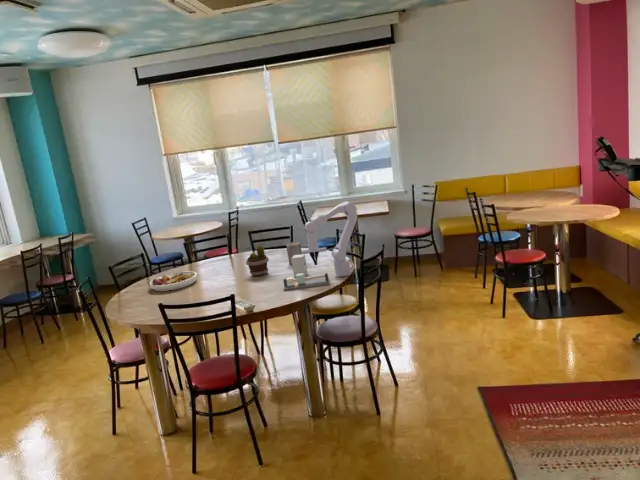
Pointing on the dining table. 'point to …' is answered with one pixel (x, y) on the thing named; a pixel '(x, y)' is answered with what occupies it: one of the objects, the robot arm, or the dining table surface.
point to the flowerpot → (258, 262)
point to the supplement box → (299, 265)
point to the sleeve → (300, 278)
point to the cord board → (306, 282)
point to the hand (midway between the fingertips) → (315, 264)
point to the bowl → (173, 281)
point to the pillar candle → (293, 250)
